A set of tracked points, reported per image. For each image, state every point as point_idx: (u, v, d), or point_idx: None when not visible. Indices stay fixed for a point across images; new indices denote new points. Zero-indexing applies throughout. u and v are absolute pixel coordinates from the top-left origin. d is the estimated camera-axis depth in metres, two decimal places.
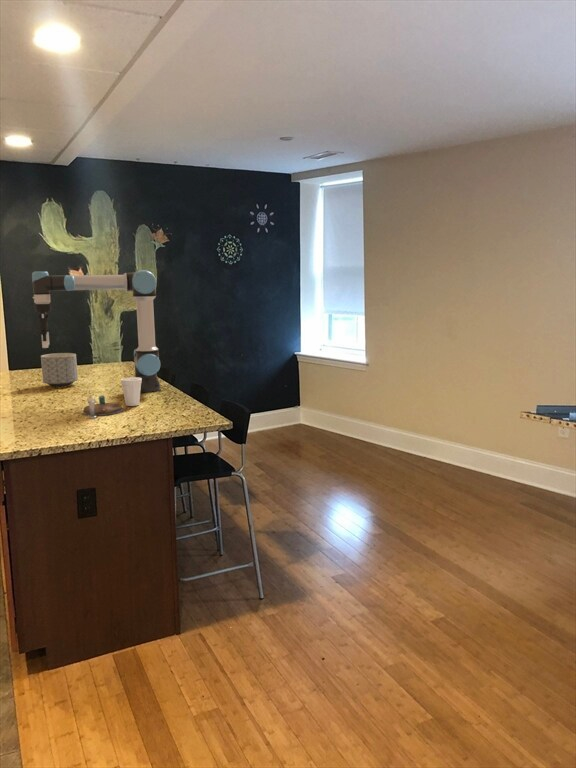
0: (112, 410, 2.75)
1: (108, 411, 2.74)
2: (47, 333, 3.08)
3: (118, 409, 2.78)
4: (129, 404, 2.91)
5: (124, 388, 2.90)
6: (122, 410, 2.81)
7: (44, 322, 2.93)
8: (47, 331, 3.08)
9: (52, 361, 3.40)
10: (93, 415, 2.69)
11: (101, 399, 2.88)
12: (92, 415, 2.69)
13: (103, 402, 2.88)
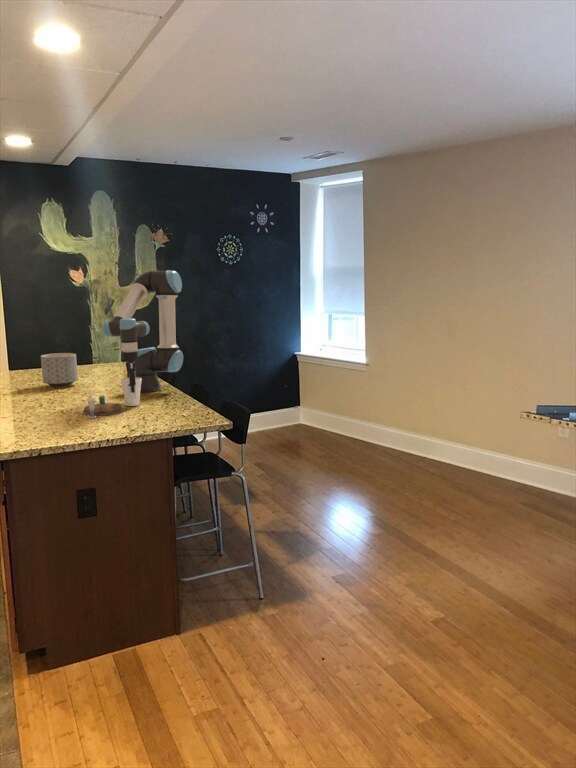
0: (112, 410, 2.75)
1: (108, 411, 2.74)
2: None
3: (118, 409, 2.78)
4: (129, 404, 2.91)
5: (124, 388, 2.90)
6: (122, 410, 2.81)
7: (133, 373, 2.85)
8: None
9: (52, 361, 3.40)
10: (93, 415, 2.69)
11: (101, 399, 2.88)
12: (92, 415, 2.69)
13: (103, 402, 2.88)
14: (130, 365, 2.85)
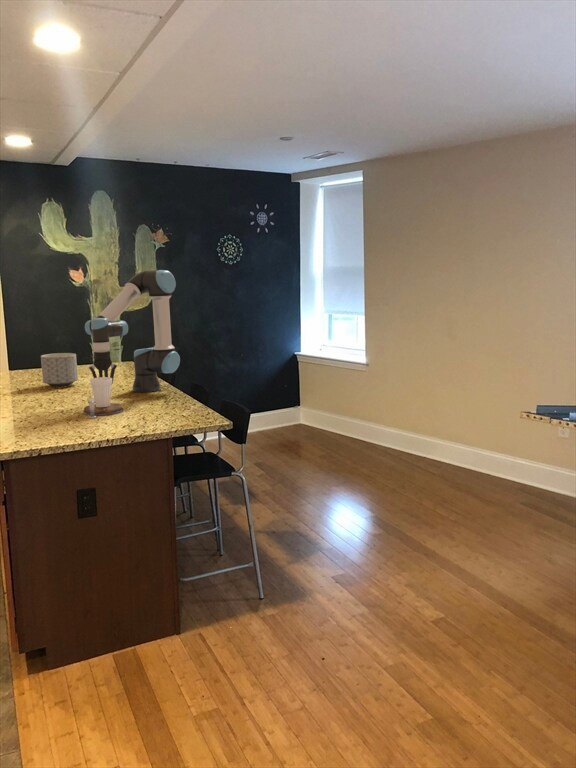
0: (113, 410, 2.76)
1: (109, 411, 2.75)
2: None
3: (118, 409, 2.79)
4: (99, 405, 2.78)
5: (94, 388, 2.77)
6: (122, 410, 2.81)
7: (93, 375, 2.87)
8: None
9: (52, 361, 3.40)
10: (93, 415, 2.69)
11: None
12: (92, 415, 2.69)
13: None
14: (89, 368, 2.86)
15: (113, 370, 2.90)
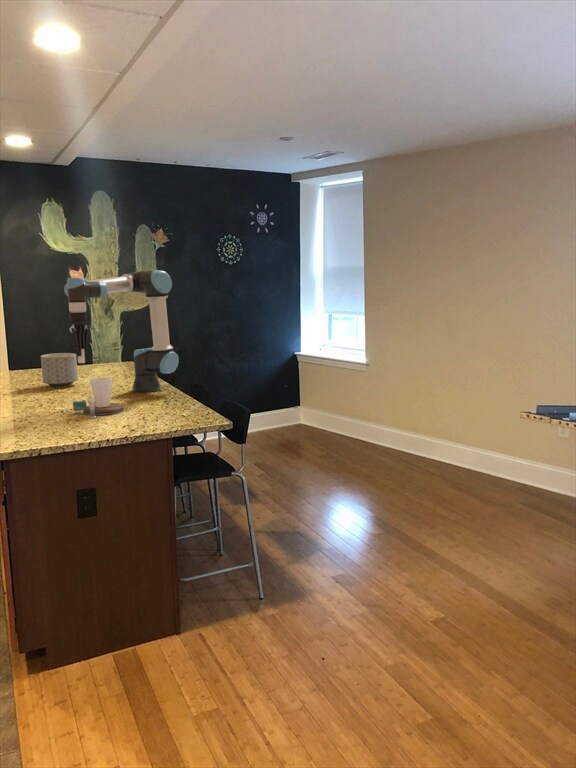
0: None
1: None
2: None
3: None
4: (108, 404, 2.80)
5: (105, 388, 2.77)
6: (122, 410, 2.81)
7: (74, 337, 2.75)
8: (83, 347, 2.81)
9: (52, 361, 3.40)
10: (93, 415, 2.69)
11: (85, 403, 2.79)
12: (92, 415, 2.69)
13: (86, 406, 2.80)
14: (69, 329, 2.73)
15: (87, 331, 2.83)
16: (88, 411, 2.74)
